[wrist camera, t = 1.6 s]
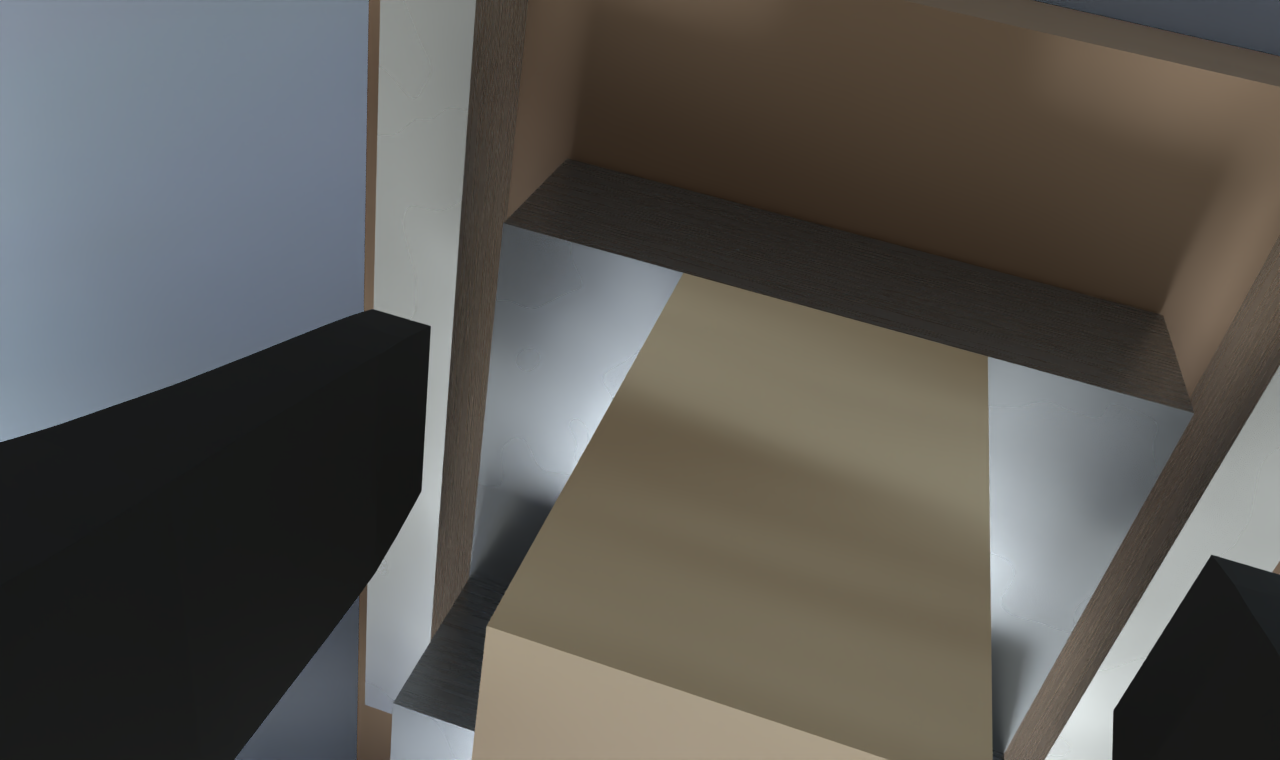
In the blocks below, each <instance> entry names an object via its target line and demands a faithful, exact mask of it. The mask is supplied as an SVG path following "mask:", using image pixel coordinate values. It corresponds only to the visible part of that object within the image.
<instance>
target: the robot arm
mask: <svg viewBox="0 0 1280 760" xmlns="http://www.w3.org/2000/svg"><path fill="white" fill-rule="evenodd" d="M430 335H431V326H429V325H426V324H422V323H419V322H416V321H412V320H409V319H405V318H402V317H399V316H395V315H392V314H388V313H385V312H381V311H378V310H375V309H371V310H367V311H364V312H361V313H358V314H355V315H352V316H349V317H346V318H343V319H341V320H338V321H335V322H333V323H330V324H328V325H325V326H322V327H320V328H317V329H315V330H312V331H310V332H307V333H305V334H302V335H300V336H297V337H295V338H292V339H290V340H287V341H285V342H282V343H280V344H277V345H275V346H272V347H270V348H267V349H265V350H262V351H260V352H257V353H255V354H252V355H249V356H247V357H244V358H242V359H239V360H237V361H234V362H232V363H229V364H226V365H224V366H221V367H219V368H216V369H214V370H211V371H209V372H206V373H203V374H201V375H198V376H196V377H193V378H191V379H188V380H186V381H183V382H180V383H178V384H175V385H172V386H169V387H167V388H164V389H161V390H158V391H155V392H152V393H149V394H146V395H143V396H141V397H138V398H135V399H132V400H129V401H126V402H123V403H120V404H118V405H115V406H112V407H109V408H106V409H103V410H100V411H97V412H94V413H92V414H89V415H86V416H83V417H80V418H77V419H74V420H71V421H69V422H66V423H63V424H60V425H57V426H53V427H50V428H47V429H44V430H41V431H37V432H34V433H31V434H28V435H24V436H21V437H17V438H14V439H10V440H7V441H4V442H0V760H234V759H235V758H236V756H237V755H238V754H239V752H240V751H241V750H242V748H243V747H244V746H245V745H246V743H247V742H248V741H249V739H250V738H251V737H252V735H253V734H254V733H255V731H256V730H257V729H258V728H259V726H260V725H261V724H262V722H263V721H264V720H265V718H266V717H267V716H268V714H269V713H270V712H271V711H272V709H273V708H274V707H275V705H276V704H277V703H278V701H279V700H280V699H281V697H282V696H283V695H284V694H285V692H286V691H287V690H288V688H289V687H290V686H291V684H292V683H293V682H294V680H295V679H296V678H297V677H298V675H299V674H300V673H301V671H302V670H303V669H304V667H305V666H306V665H307V664H308V662H309V661H310V660H311V658H312V657H313V656H314V654H315V653H316V652H317V650H318V649H319V648H320V647H321V645H322V644H323V643H324V641H325V640H326V639H327V637H328V636H329V635H330V633H331V632H332V631H333V629H334V628H335V627H336V625H337V624H338V623H339V621H340V620H341V619H342V617H343V616H344V615H345V613H346V612H347V611H348V609H349V608H350V607H351V605H352V604H353V603H354V601H355V600H356V599H357V597H358V596H359V595H360V593H361V592H362V591H363V589H364V588H365V587H366V585H367V584H368V583H369V581H370V580H371V578H372V577H373V576H374V574H375V573H376V571H377V569H378V568H379V566H380V564H381V563H382V561H383V559H384V557H385V556H386V554H387V552H388V551H389V549H390V547H391V545H392V544H393V542H394V540H395V539H396V537H397V535H398V533H399V531H400V530H401V528H402V526H403V524H404V522H405V521H406V519H407V517H408V515H409V513H410V511H411V510H412V508H413V506H414V504H415V502H416V501H417V499H418V497H419V495H420V493H421V491H422V476H423V458H424V441H425V423H426V405H427V388H428V370H429V352H430ZM1112 760H1280V575H1279V574H1276V573H1272V572H1269V571H1266V570H1262V569H1259V568H1255V567H1252V566H1249V565H1245V564H1242V563H1238V562H1235V561H1231V560H1228V559H1225V558H1221V557H1218V556H1214V555H1211V556H1210V558H1209V559H1208V561H1207V562H1206V564H1205V566H1204V567H1203V569H1202V570H1201V572H1200V574H1199V575H1198V577H1197V578H1196V580H1195V582H1194V583H1193V585H1192V586H1191V588H1190V589H1189V591H1188V593H1187V594H1186V596H1185V597H1184V599H1183V601H1182V602H1181V604H1180V605H1179V607H1178V608H1177V610H1176V612H1175V613H1174V615H1173V616H1172V618H1171V620H1170V621H1169V623H1168V624H1167V626H1166V628H1165V629H1164V631H1163V632H1162V634H1161V635H1160V637H1159V639H1158V640H1157V642H1156V643H1155V645H1154V647H1153V648H1152V650H1151V651H1150V653H1149V655H1148V656H1147V658H1146V659H1145V661H1144V662H1143V664H1142V666H1141V667H1140V669H1139V670H1138V672H1137V674H1136V675H1135V677H1134V678H1133V680H1132V682H1131V683H1130V685H1129V686H1128V688H1127V689H1126V691H1125V693H1124V694H1123V696H1122V697H1121V699H1120V701H1119V702H1118V704H1117V705H1116V707H1115V709H1114V710H1113V742H1112Z"/></svg>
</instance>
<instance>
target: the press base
mask: <svg viewBox="0 0 1280 760" xmlns="http://www.w3.org/2000/svg"><path fill="white" fill-rule="evenodd" d="M567 158H569V159H572V160H576V161H580V162H584V163H588V164H591V165H595V166H599V167H603V168H606V169H610V170H614V171H618V172H622V173H625V174H629V175H633V176H637V177H641V178H644V179H648V180H652V181H656V182H660V183H663V184H667V185H671V186H675V187H679V188H682V189H686V190H690V191H694V192H698V193H701V194H705V195H709V196H713V197H717V198H720V199H724V200H728V201H732V202H736V203H739V204H743V205H747V206H751V207H755V208H758V209H762V210H766V211H770V212H774V213H777V214H781V215H785V216H789V217H793V218H796V219H800V220H804V221H808V222H812V223H815V224H819V225H823V226H827V227H831V228H834V229H838V230H842V231H846V232H850V233H853V234H857V235H861V236H865V237H869V238H872V239H876V240H880V241H884V242H888V243H891V244H895V245H899V246H903V247H907V248H910V249H914V250H918V251H922V252H926V253H929V254H933V255H937V256H941V257H945V258H948V259H952V260H956V261H960V262H963V263H967V264H971V265H975V266H979V267H982V268H986V269H990V270H994V271H998V272H1001V273H1005V274H1009V275H1013V276H1017V277H1020V278H1024V279H1028V280H1032V281H1036V282H1039V283H1043V284H1047V285H1051V286H1055V287H1058V288H1062V289H1066V290H1070V291H1074V292H1077V293H1081V294H1085V295H1089V296H1093V297H1096V298H1100V299H1104V300H1108V301H1112V302H1115V303H1119V304H1123V305H1127V306H1131V307H1134V308H1138V309H1142V310H1146V311H1150V312H1153V313H1157V314H1161V315H1163V316H1164V319H1165V322H1166V326H1167V329H1168V332H1169V335H1170V338H1171V341H1172V345H1173V348H1174V351H1175V354H1176V357H1177V360H1178V363H1179V367H1180V370H1181V373H1182V376H1183V379H1184V382H1185V385H1186V389H1187V392H1188V395H1189V398H1190V401H1191V404H1192V408H1193V411H1194V415H1193V416H1192V418H1191V420H1190V422H1189V424H1188V425H1187V427H1186V429H1185V431H1184V433H1183V434H1182V436H1181V438H1180V440H1179V442H1178V443H1177V445H1176V447H1175V449H1174V450H1173V452H1172V454H1171V456H1170V458H1169V459H1168V461H1167V463H1166V465H1165V467H1164V468H1163V470H1162V472H1161V474H1160V475H1159V477H1158V479H1157V481H1156V483H1155V484H1154V486H1153V488H1152V490H1151V492H1150V493H1149V495H1148V497H1147V499H1146V501H1145V502H1144V504H1143V506H1142V508H1141V509H1140V511H1139V513H1138V515H1137V517H1136V518H1135V520H1134V522H1133V524H1132V526H1131V527H1130V529H1129V531H1128V533H1127V535H1126V536H1125V538H1124V540H1123V542H1122V543H1121V545H1120V547H1119V549H1118V551H1117V552H1116V554H1115V556H1114V558H1113V560H1112V561H1111V563H1110V565H1109V567H1108V568H1107V570H1106V572H1105V574H1104V576H1103V577H1102V579H1101V581H1100V583H1099V585H1098V586H1097V588H1096V590H1095V592H1094V594H1093V595H1092V597H1091V599H1090V601H1089V602H1088V604H1087V606H1086V608H1085V610H1084V611H1083V613H1082V615H1081V617H1080V619H1079V620H1078V622H1077V624H1076V626H1075V628H1074V629H1073V631H1072V633H1071V635H1070V636H1069V638H1068V640H1067V642H1066V644H1065V645H1064V647H1063V649H1062V651H1061V653H1060V654H1059V656H1058V658H1057V660H1056V661H1055V663H1054V665H1053V667H1052V669H1051V670H1050V672H1049V674H1048V676H1047V678H1046V679H1045V681H1044V683H1043V685H1042V687H1041V688H1040V690H1039V692H1038V694H1037V695H1036V697H1035V699H1034V701H1033V703H1032V704H1031V706H1030V708H1029V710H1028V712H1027V713H1026V715H1025V717H1024V719H1023V721H1022V722H1021V724H1020V726H1019V728H1018V729H1017V731H1016V733H1015V735H1014V737H1013V738H1012V740H1011V742H1010V744H1009V746H1008V747H1007V749H1006V751H1005V753H1004V760H1112V742H1113V710H1114V709H1115V707H1116V705H1117V704H1118V702H1119V701H1120V699H1121V697H1122V696H1123V694H1124V693H1125V691H1126V689H1127V688H1128V686H1129V685H1130V683H1131V682H1132V680H1133V678H1134V677H1135V675H1136V674H1137V672H1138V670H1139V669H1140V667H1141V666H1142V664H1143V662H1144V661H1145V659H1146V658H1147V656H1148V655H1149V653H1150V651H1151V650H1152V648H1153V647H1154V645H1155V643H1156V642H1157V640H1158V639H1159V637H1160V635H1161V634H1162V632H1163V631H1164V629H1165V628H1166V626H1167V624H1168V623H1169V621H1170V620H1171V618H1172V616H1173V615H1174V613H1175V612H1176V610H1177V608H1178V607H1179V605H1180V604H1181V602H1182V601H1183V599H1184V597H1185V596H1186V594H1187V593H1188V591H1189V589H1190V588H1191V586H1192V585H1193V583H1194V582H1195V580H1196V578H1197V577H1198V575H1199V574H1200V572H1201V570H1202V569H1203V567H1204V566H1205V564H1206V562H1207V561H1208V559H1209V558H1210V556H1211V555H1214V556H1218V557H1221V558H1225V559H1228V560H1231V561H1235V562H1238V563H1242V564H1245V565H1249V566H1252V567H1255V568H1259V569H1262V570H1266V571H1269V572H1272V573H1276V574H1279V575H1280V56H1277V55H1272V54H1268V53H1263V52H1259V51H1254V50H1250V49H1246V48H1241V47H1237V46H1232V45H1228V44H1223V43H1219V42H1215V41H1210V40H1206V39H1201V38H1197V37H1193V36H1188V35H1184V34H1179V33H1175V32H1170V31H1166V30H1162V29H1157V28H1153V27H1148V26H1144V25H1140V24H1135V23H1131V22H1126V21H1122V20H1117V19H1113V18H1109V17H1104V16H1100V15H1095V14H1091V13H1086V12H1082V11H1078V10H1073V9H1069V8H1064V7H1060V6H1056V5H1051V4H1047V3H1042V2H1038V1H1033V0H369V26H368V88H367V150H366V212H365V274H364V311H367V310H371V309H375V310H378V311H381V312H385V313H388V314H392V315H395V316H399V317H402V318H405V319H409V320H412V321H416V322H419V323H422V324H426V325H429V326H431V335H430V352H429V370H428V388H427V405H426V423H425V441H424V458H423V476H422V491H421V493H420V495H419V497H418V499H417V501H416V502H415V504H414V506H413V508H412V510H411V511H410V513H409V515H408V517H407V519H406V521H405V522H404V524H403V526H402V528H401V530H400V531H399V533H398V535H397V537H396V539H395V540H394V542H393V544H392V545H391V547H390V549H389V551H388V552H387V554H386V556H385V557H384V559H383V561H382V563H381V564H380V566H379V568H378V569H377V571H376V573H375V574H374V576H373V577H372V578H371V580H370V581H369V583H368V584H367V585H366V587H365V588H364V589H363V591H362V592H361V593H360V595H359V646H358V708H357V760H390V756H391V734H392V711H393V702H394V701H395V699H396V697H397V696H398V694H399V692H400V691H401V689H402V687H403V686H404V684H405V682H406V681H407V679H408V678H409V676H410V674H411V673H412V671H413V669H414V668H415V666H416V664H417V663H418V661H419V660H420V658H421V656H422V655H423V653H424V651H425V650H426V648H427V646H428V645H429V643H430V642H431V640H432V638H433V637H434V635H435V633H436V632H437V630H438V628H439V627H440V625H441V623H442V622H443V620H444V619H445V617H446V615H447V614H448V612H449V610H450V609H451V607H452V605H453V604H454V602H455V601H456V599H457V597H458V596H459V594H460V592H461V591H462V589H463V587H464V586H465V584H466V583H467V581H468V579H469V573H470V563H471V552H472V542H473V532H474V521H475V511H476V500H477V490H478V480H479V469H480V459H481V448H482V438H483V428H484V417H485V407H486V396H487V386H488V376H489V365H490V355H491V344H492V334H493V324H494V313H495V303H496V292H497V282H498V272H499V261H500V251H501V240H502V230H503V223H504V222H505V221H506V220H507V219H508V218H509V217H510V216H511V215H512V214H513V213H514V212H515V211H516V210H517V209H518V208H519V207H520V206H521V205H522V204H523V203H524V202H525V201H526V200H527V199H528V198H529V197H530V196H531V195H532V194H533V192H534V191H535V190H536V189H537V188H538V187H539V186H540V185H541V184H542V183H543V182H544V181H545V180H546V179H547V178H548V177H549V176H550V175H551V174H552V173H553V172H554V171H555V170H556V169H557V168H558V167H559V166H560V165H561V164H562V163H563V162H564V161H565V160H566V159H567Z"/></svg>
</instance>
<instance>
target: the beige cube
mask: <svg viewBox="0 0 1280 760" xmlns="http://www.w3.org/2000/svg"><path fill="white" fill-rule="evenodd" d="M1193 415H1194V411H1193V408H1192V404H1191V401H1190V398H1189V395H1188V392H1187V389H1186V385H1185V382H1184V379H1183V376H1182V373H1181V370H1180V367H1179V363H1178V360H1177V357H1176V354H1175V351H1174V348H1173V345H1172V341H1171V338H1170V335H1169V332H1168V329H1167V326H1166V322H1165V319H1164V316H1163V315H1161V314H1157V313H1153V312H1150V311H1146V310H1142V309H1138V308H1134V307H1131V306H1127V305H1123V304H1119V303H1115V302H1112V301H1108V300H1104V299H1100V298H1096V297H1093V296H1089V295H1085V294H1081V293H1077V292H1074V291H1070V290H1066V289H1062V288H1058V287H1055V286H1051V285H1047V284H1043V283H1039V282H1036V281H1032V280H1028V279H1024V278H1020V277H1017V276H1013V275H1009V274H1005V273H1001V272H998V271H994V270H990V269H986V268H982V267H979V266H975V265H971V264H967V263H963V262H960V261H956V260H952V259H948V258H945V257H941V256H937V255H933V254H929V253H926V252H922V251H918V250H914V249H910V248H907V247H903V246H899V245H895V244H891V243H888V242H884V241H880V240H876V239H872V238H869V237H865V236H861V235H857V234H853V233H850V232H846V231H842V230H838V229H834V228H831V227H827V226H823V225H819V224H815V223H812V222H808V221H804V220H800V219H796V218H793V217H789V216H785V215H781V214H777V213H774V212H770V211H766V210H762V209H758V208H755V207H751V206H747V205H743V204H739V203H736V202H732V201H728V200H724V199H720V198H717V197H713V196H709V195H705V194H701V193H698V192H694V191H690V190H686V189H682V188H679V187H675V186H671V185H667V184H663V183H660V182H656V181H652V180H648V179H644V178H641V177H637V176H633V175H629V174H625V173H622V172H618V171H614V170H610V169H606V168H603V167H599V166H595V165H591V164H588V163H584V162H580V161H576V160H572V159H569V158H567V159H566V160H565V161H564V162H563V163H562V164H561V165H560V166H559V167H558V168H557V169H556V170H555V171H554V172H553V173H552V174H551V175H550V176H549V177H548V178H547V179H546V180H545V181H544V182H543V183H542V184H541V185H540V186H539V187H538V188H537V189H536V190H535V191H534V192H533V194H532V195H531V196H530V197H529V198H528V199H527V200H526V201H525V202H524V203H523V204H522V205H521V206H520V207H519V208H518V209H517V210H516V211H515V212H514V213H513V214H512V215H511V216H510V217H509V218H508V219H507V220H506V221H505V222H504V223H503V230H502V240H501V251H500V261H499V272H498V282H497V292H496V303H495V313H494V324H493V334H492V344H491V355H490V365H489V376H488V386H487V396H486V407H485V417H484V428H483V438H482V448H481V459H480V469H479V480H478V490H477V500H476V511H475V521H474V532H473V542H472V552H471V563H470V573H469V579H468V581H467V583H466V584H465V586H464V587H463V589H462V591H461V592H460V594H459V596H458V597H457V599H456V601H455V602H454V604H453V605H452V607H451V609H450V610H449V612H448V614H447V615H446V617H445V619H444V620H443V622H442V623H441V625H440V627H439V628H438V630H437V632H436V633H435V635H434V637H433V638H432V640H431V642H430V643H429V645H428V646H427V648H426V650H425V651H424V653H423V655H422V656H421V658H420V660H419V661H418V663H417V664H416V666H415V668H414V669H413V671H412V673H411V674H410V676H409V678H408V679H407V681H406V682H405V684H404V686H403V687H402V689H401V691H400V692H399V694H398V696H397V697H396V699H395V701H394V702H393V711H392V734H391V756H390V760H1004V753H1005V751H1006V749H1007V747H1008V746H1009V744H1010V742H1011V740H1012V738H1013V737H1014V735H1015V733H1016V731H1017V729H1018V728H1019V726H1020V724H1021V722H1022V721H1023V719H1024V717H1025V715H1026V713H1027V712H1028V710H1029V708H1030V706H1031V704H1032V703H1033V701H1034V699H1035V697H1036V695H1037V694H1038V692H1039V690H1040V688H1041V687H1042V685H1043V683H1044V681H1045V679H1046V678H1047V676H1048V674H1049V672H1050V670H1051V669H1052V667H1053V665H1054V663H1055V661H1056V660H1057V658H1058V656H1059V654H1060V653H1061V651H1062V649H1063V647H1064V645H1065V644H1066V642H1067V640H1068V638H1069V636H1070V635H1071V633H1072V631H1073V629H1074V628H1075V626H1076V624H1077V622H1078V620H1079V619H1080V617H1081V615H1082V613H1083V611H1084V610H1085V608H1086V606H1087V604H1088V602H1089V601H1090V599H1091V597H1092V595H1093V594H1094V592H1095V590H1096V588H1097V586H1098V585H1099V583H1100V581H1101V579H1102V577H1103V576H1104V574H1105V572H1106V570H1107V568H1108V567H1109V565H1110V563H1111V561H1112V560H1113V558H1114V556H1115V554H1116V552H1117V551H1118V549H1119V547H1120V545H1121V543H1122V542H1123V540H1124V538H1125V536H1126V535H1127V533H1128V531H1129V529H1130V527H1131V526H1132V524H1133V522H1134V520H1135V518H1136V517H1137V515H1138V513H1139V511H1140V509H1141V508H1142V506H1143V504H1144V502H1145V501H1146V499H1147V497H1148V495H1149V493H1150V492H1151V490H1152V488H1153V486H1154V484H1155V483H1156V481H1157V479H1158V477H1159V475H1160V474H1161V472H1162V470H1163V468H1164V467H1165V465H1166V463H1167V461H1168V459H1169V458H1170V456H1171V454H1172V452H1173V450H1174V449H1175V447H1176V445H1177V443H1178V442H1179V440H1180V438H1181V436H1182V434H1183V433H1184V431H1185V429H1186V427H1187V425H1188V424H1189V422H1190V420H1191V418H1192V416H1193Z"/></svg>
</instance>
